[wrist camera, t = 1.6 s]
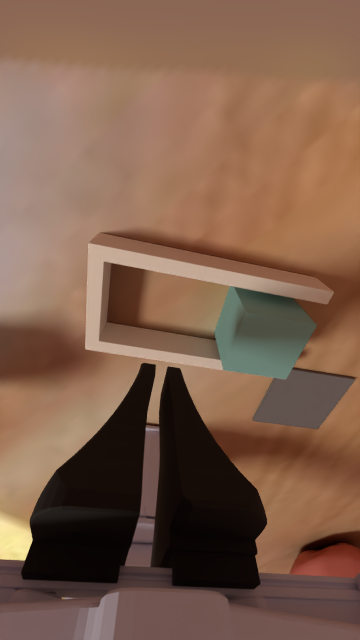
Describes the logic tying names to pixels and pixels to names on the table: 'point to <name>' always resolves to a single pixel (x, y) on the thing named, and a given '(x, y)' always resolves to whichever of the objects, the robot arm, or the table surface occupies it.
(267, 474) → the table surface
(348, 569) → the cell model
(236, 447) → the table surface
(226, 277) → the frame
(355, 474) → the table surface
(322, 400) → the mat
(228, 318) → the block
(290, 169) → the table surface
